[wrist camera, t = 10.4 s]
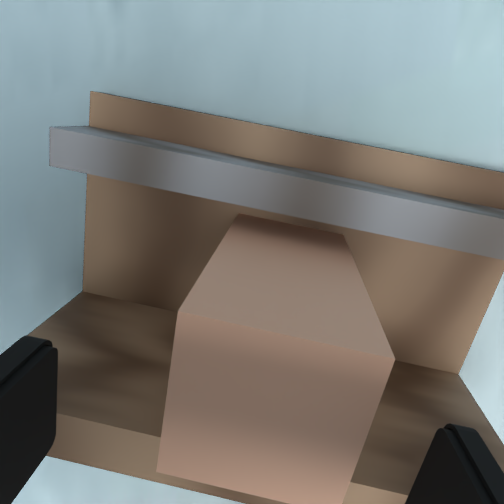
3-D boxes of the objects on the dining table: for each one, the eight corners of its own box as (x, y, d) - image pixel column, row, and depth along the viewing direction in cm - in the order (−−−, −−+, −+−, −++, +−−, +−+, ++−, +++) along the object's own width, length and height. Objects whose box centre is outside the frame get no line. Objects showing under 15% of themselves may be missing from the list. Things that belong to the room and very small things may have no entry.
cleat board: (89, 329, 22) (-36, 456, 14) (101, 92, 18) (-71, 67, 10) (431, 406, 22) (519, 591, 13) (529, 177, 17) (755, 231, 9)
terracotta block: (238, 213, 18) (177, 311, 9) (343, 234, 18) (395, 359, 9) (222, 305, 20) (156, 472, 10) (317, 326, 20) (337, 515, 10)
